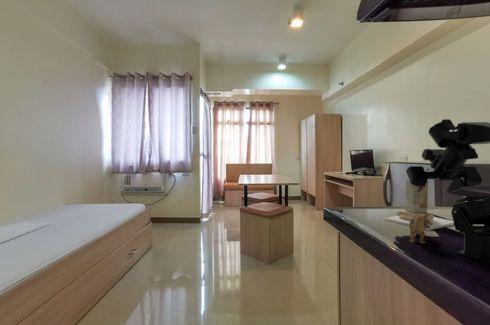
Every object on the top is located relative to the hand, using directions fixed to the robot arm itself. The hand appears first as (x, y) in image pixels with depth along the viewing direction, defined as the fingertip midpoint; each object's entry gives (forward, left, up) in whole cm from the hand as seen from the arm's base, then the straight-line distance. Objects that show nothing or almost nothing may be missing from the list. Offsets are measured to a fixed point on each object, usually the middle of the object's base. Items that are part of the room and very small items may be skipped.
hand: (432, 191), depth 87 cm
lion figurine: (-11, -3, -14) cm, 18 cm away
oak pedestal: (+9, +11, -14) cm, 20 cm away
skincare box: (+9, +11, -10) cm, 17 cm away
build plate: (+10, +10, -14) cm, 20 cm away
